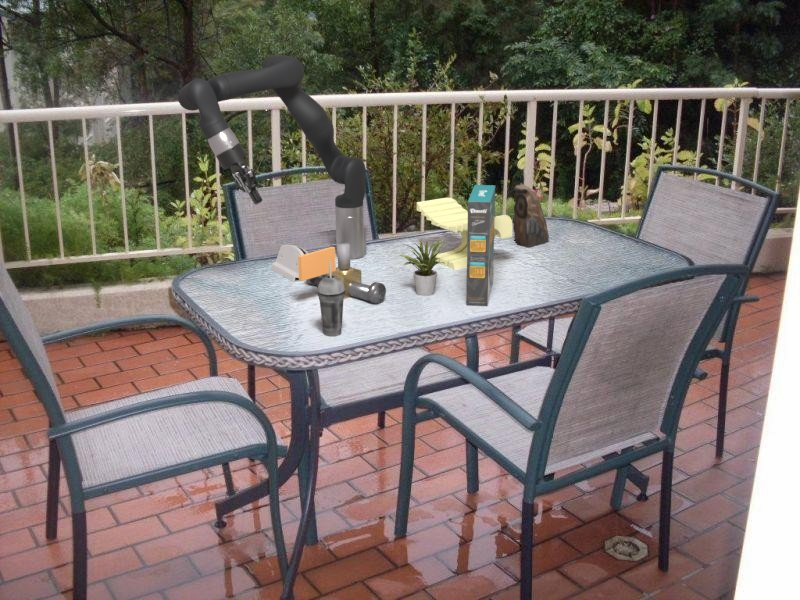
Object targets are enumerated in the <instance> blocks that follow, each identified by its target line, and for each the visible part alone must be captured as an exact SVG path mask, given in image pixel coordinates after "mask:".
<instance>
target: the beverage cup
mask: <svg viewBox="0 0 800 600" xmlns="http://www.w3.org/2000/svg"><path fill="white" fill-rule="evenodd" d="M329 273H330V276H327V277H325V278H323V279H322V280H321V281H320V283H319V285H318V286H317V291H316V293H317V298H318V301H319V307H320V315H321V321H322V322H321V323H322V329H323V335H324V336H326V337H338V336H340V335H342V328H343V314H344V313H343V312H344V300H345V299H344V296H345V288H344V285H343V282H342V281H341V280H340V279H339V278H338V277H336V276H332V272H331V261H329Z"/></svg>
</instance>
